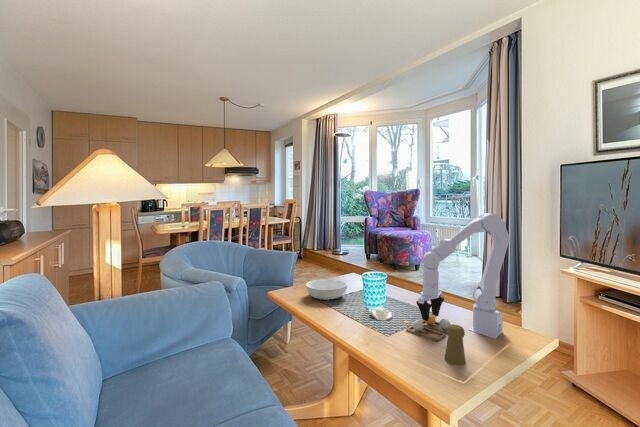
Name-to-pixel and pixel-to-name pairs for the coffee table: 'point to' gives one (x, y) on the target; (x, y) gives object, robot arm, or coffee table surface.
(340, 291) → the serving bowl
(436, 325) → the trough
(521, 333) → the coffee table surface
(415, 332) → the trough
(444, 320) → the grey ball
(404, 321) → the card
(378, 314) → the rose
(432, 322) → the ball terracotta
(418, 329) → the grey ball
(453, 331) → the olive knobbed tapered post
